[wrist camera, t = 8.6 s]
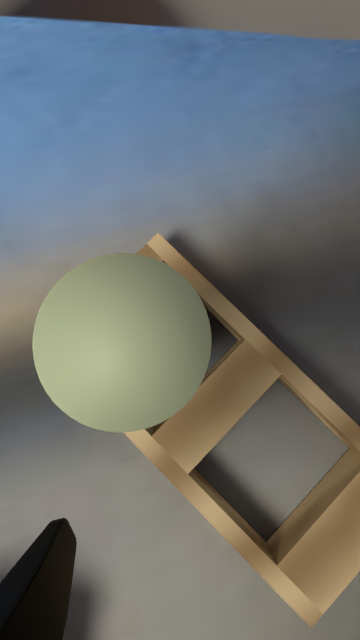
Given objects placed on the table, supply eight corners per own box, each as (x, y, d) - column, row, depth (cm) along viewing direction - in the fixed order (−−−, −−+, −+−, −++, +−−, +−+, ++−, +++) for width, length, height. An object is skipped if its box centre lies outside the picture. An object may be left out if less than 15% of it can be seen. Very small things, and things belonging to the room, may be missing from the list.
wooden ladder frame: (400, 476, 19) (426, 491, 17) (296, 596, 18) (311, 628, 16) (160, 244, 20) (157, 232, 18) (54, 346, 19) (40, 346, 17)
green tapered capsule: (195, 369, 19) (229, 409, 6) (137, 382, 19) (49, 450, 6) (182, 311, 20) (189, 236, 7) (125, 323, 19) (19, 273, 7)
